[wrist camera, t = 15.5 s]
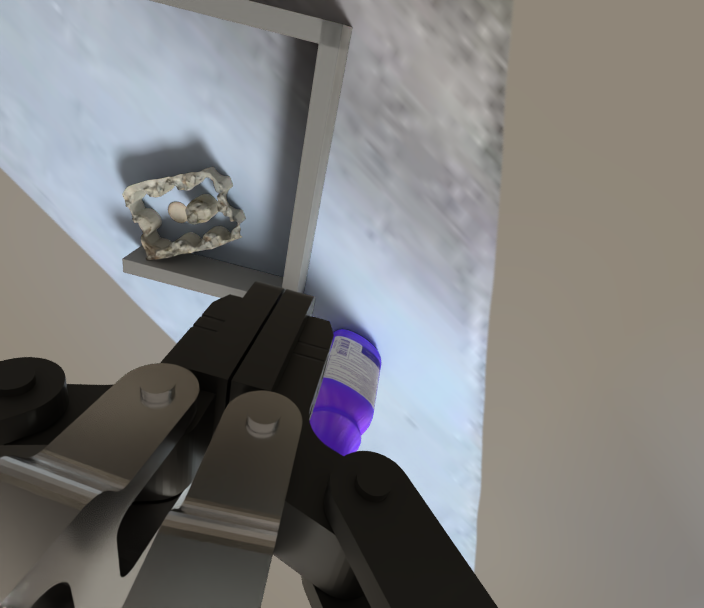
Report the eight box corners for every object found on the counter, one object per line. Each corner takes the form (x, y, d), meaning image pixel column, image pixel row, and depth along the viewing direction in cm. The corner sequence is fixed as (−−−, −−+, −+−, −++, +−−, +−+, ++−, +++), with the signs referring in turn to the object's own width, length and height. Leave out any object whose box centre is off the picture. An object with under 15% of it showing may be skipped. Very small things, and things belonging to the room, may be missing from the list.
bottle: (311, 348, 51) (264, 472, 36) (337, 316, 48) (298, 436, 33) (362, 380, 52) (337, 513, 37) (391, 350, 49) (376, 481, 34)
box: (138, -28, 34) (102, -37, 31) (352, 27, 34) (343, 24, 30) (147, 254, 47) (123, 272, 44) (303, 295, 47) (292, 316, 43)
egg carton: (163, 247, 47) (142, 263, 44) (133, 178, 44) (107, 190, 40) (254, 234, 45) (239, 250, 41) (229, 160, 41) (211, 170, 38)
